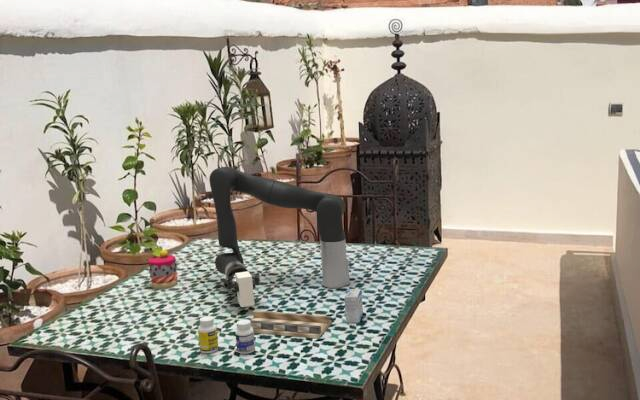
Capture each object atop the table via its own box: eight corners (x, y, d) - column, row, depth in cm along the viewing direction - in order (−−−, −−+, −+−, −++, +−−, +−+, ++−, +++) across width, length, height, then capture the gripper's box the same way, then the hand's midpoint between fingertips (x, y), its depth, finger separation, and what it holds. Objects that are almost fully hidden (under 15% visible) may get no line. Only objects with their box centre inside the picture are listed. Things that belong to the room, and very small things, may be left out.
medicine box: (359, 323, 211) (358, 296, 209) (345, 323, 212) (344, 296, 210) (363, 314, 219) (361, 288, 217) (349, 313, 219) (348, 288, 218)
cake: (183, 282, 264) (180, 244, 261) (167, 290, 255) (163, 252, 252) (162, 279, 268) (158, 243, 266) (145, 288, 259) (140, 250, 256)
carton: (250, 299, 231) (248, 271, 229) (254, 305, 224) (251, 276, 222) (237, 301, 229) (235, 273, 227) (241, 307, 223) (238, 278, 221)
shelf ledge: (331, 323, 212) (331, 314, 212) (318, 338, 201) (317, 329, 201) (256, 317, 221) (256, 308, 221) (240, 331, 210) (239, 322, 210)
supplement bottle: (210, 355, 194) (207, 323, 192) (196, 352, 197) (192, 320, 195) (222, 348, 199) (219, 316, 197) (208, 345, 201) (205, 314, 200)
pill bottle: (237, 347, 198) (234, 319, 196) (255, 346, 199) (252, 317, 197) (236, 355, 193) (234, 326, 191) (255, 353, 193) (252, 324, 192)
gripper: (215, 266, 237) (223, 280, 221) (255, 260, 241) (265, 273, 225) (217, 287, 239) (225, 302, 223) (257, 280, 243) (267, 295, 226)
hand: (245, 287), depth 224 cm, fingers closed on carton, 4 cm apart
